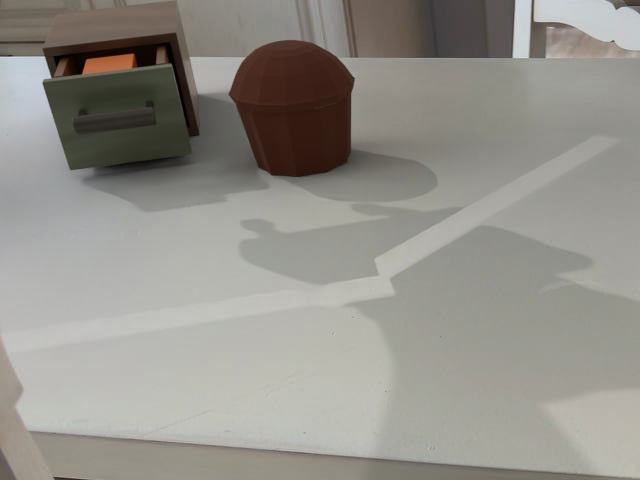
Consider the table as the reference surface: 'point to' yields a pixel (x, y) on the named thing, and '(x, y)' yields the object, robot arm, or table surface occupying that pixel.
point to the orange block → (110, 63)
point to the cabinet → (127, 41)
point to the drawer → (118, 109)
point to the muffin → (295, 107)
